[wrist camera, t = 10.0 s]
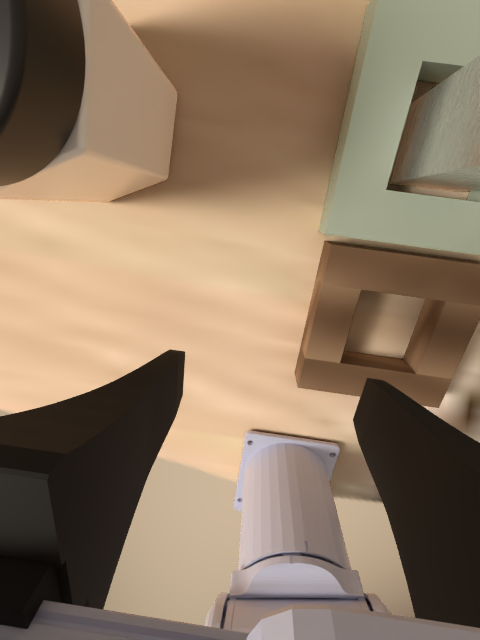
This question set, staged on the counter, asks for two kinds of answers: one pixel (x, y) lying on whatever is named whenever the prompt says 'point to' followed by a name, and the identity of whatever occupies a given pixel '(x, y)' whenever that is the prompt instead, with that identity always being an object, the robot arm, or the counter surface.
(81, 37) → the jar
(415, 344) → the socket block
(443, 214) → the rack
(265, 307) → the counter surface
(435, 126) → the peg
